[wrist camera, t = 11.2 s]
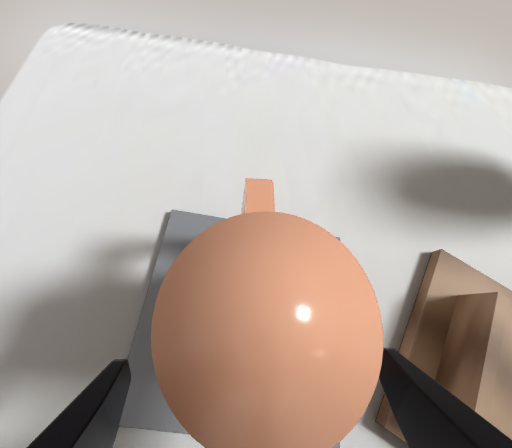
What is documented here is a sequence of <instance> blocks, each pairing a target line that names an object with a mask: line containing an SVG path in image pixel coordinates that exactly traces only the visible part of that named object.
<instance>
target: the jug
mask: <svg viewBox="0 0 512 448" xmlns="http://www.w3.org/2000/svg"><path fill="white" fill-rule="evenodd" d="M151 349H152V359H153V364H154V369H155V374H156V377H157V380H158V383H159V386H160V389H161V392H162V394H163V396H164V398H165V400H166V402H167V404H168V406H169V408H170V410H171V411H172V413H173V414H174V416H175V417H176V419H177V420H178V422H179V423H180V424H181V425H182V427H183V428H184V429H185V430H186V431H187V432H188V433H189V434H190V435H191V436H192V437H193V438H194V439H195V440H196V441H198V442H199V443H200V444H201V445H203V446H204V447H205V448H332V447H333V446H335V445H336V444H337V443H339V442H340V441H341V440H342V439H343V438H344V437H345V436H346V435H347V434H348V433H349V432H350V431H351V430H352V429H353V428H354V426H355V425H356V424H357V422H358V421H359V419H360V418H361V416H362V415H363V414H364V412H365V410H366V408H367V406H368V404H369V402H370V400H371V398H372V396H373V393H374V391H375V388H376V385H377V382H378V379H379V374H380V370H381V365H382V356H383V327H382V320H381V314H380V310H379V306H378V301H377V298H376V296H375V293H374V290H373V288H372V285H371V283H370V281H369V279H368V277H367V275H366V273H365V272H364V270H363V268H362V267H361V265H360V264H359V262H358V261H357V259H356V258H355V257H354V256H353V254H352V253H351V252H350V251H349V250H348V249H347V248H346V247H345V246H344V245H343V244H342V243H341V242H340V241H339V240H338V239H337V238H336V237H334V236H333V235H332V234H331V233H329V232H328V231H326V230H325V229H323V228H322V227H320V226H318V225H316V224H314V223H312V222H310V221H308V220H306V219H303V218H300V217H297V216H294V215H290V214H285V213H280V212H275V209H274V186H273V182H272V180H268V179H248V178H246V180H245V188H244V195H243V203H242V210H241V215H237V216H233V217H230V218H228V219H225V220H223V221H221V222H218V223H217V224H215V225H213V226H211V227H210V228H208V229H206V230H205V231H203V232H202V233H201V234H199V235H198V236H197V237H195V238H194V239H193V240H192V241H191V242H190V243H189V244H188V245H187V246H186V247H185V248H184V249H183V251H182V252H181V253H180V254H179V256H178V257H177V258H176V259H175V261H174V262H173V264H172V266H171V267H170V269H169V270H168V272H167V274H166V276H165V278H164V280H163V283H162V285H161V287H160V290H159V293H158V296H157V299H156V302H155V307H154V312H153V317H152V327H151Z"/></svg>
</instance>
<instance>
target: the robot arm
mask: <svg viewBox="0 0 512 448" xmlns="http://www.w3.org/2000/svg"><path fill="white" fill-rule="evenodd" d="M379 379H380V381H381V384H382V386H383V389H384V392H385V394H386V397H387V399H388V402H389V405H390V407H391V410H392V412H393V415H394V417H395V419H396V421H397V424H398V426H399V428H400V430H401V432H402V434H403V436H404V438H405V440H406V442H407V444H408V446H409V448H512V439H510V438H509V437H508V436H506V435H505V434H504V433H502V432H501V431H500V430H499V429H497V428H496V427H495V426H493V425H492V424H491V423H489V422H488V421H487V420H486V419H484V418H483V417H482V416H480V415H479V414H478V413H477V412H475V411H474V410H473V409H471V408H470V407H469V406H467V405H466V404H465V403H464V402H462V401H461V400H460V399H458V398H457V397H456V396H455V395H453V394H452V393H451V392H449V391H448V390H447V389H445V388H444V387H443V386H442V385H440V384H439V383H438V382H436V381H435V380H434V379H432V378H431V377H430V376H429V375H427V374H426V373H425V372H423V371H422V370H421V369H420V368H418V367H417V366H416V365H414V364H413V363H412V362H410V361H409V360H408V359H407V358H405V357H404V356H403V355H401V354H400V353H399V352H398V351H396V350H395V349H393V348H383V356H382V365H381V370H380V374H379ZM130 383H131V371H130V367H129V362H128V360H127V359H116V360H113V361H112V362H111V363H110V364H109V365H108V366H107V367H106V368H105V369H104V370H103V371H102V372H101V373H100V374H99V375H98V376H97V377H96V378H95V379H94V380H93V381H92V382H91V383H90V384H89V385H88V386H87V387H86V388H85V389H84V390H83V391H82V392H81V393H80V394H79V395H78V396H77V397H76V398H75V399H74V400H73V401H72V402H71V403H70V404H69V405H68V406H67V407H66V408H65V409H64V410H63V411H62V412H61V413H60V414H59V415H58V417H57V418H56V419H55V420H54V421H53V422H52V423H51V424H50V425H49V426H48V427H47V428H46V429H45V430H44V431H43V432H42V433H41V434H40V435H39V436H38V437H37V438H36V439H35V440H34V441H33V442H32V443H31V444H30V445H29V446H28V447H27V448H112V447H113V444H114V441H115V438H116V434H117V431H118V427H119V424H120V420H121V416H122V413H123V409H124V405H125V402H126V398H127V394H128V390H129V387H130Z"/></svg>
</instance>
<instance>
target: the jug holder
mask: <svg viewBox="0 0 512 448" xmlns="http://www.w3.org/2000/svg"><path fill="white" fill-rule="evenodd" d="M399 353H400V354H401V355H403V356H404V357H405V358H407V359H408V360H409V361H410V362H412V363H413V364H414V365H416V366H417V367H418V368H420V369H421V370H422V371H423V372H425V373H426V374H427V375H429V376H430V377H431V378H432V379H434V380H435V381H436V382H438V383H439V384H440V385H442V386H443V387H444V388H445V389H447V390H448V391H449V392H451V393H452V394H453V395H455V396H456V397H457V398H458V399H460V400H461V401H462V402H464V403H465V404H466V405H467V406H469V407H470V408H471V409H473V410H474V411H475V412H477V413H478V414H479V415H480V416H482V417H483V418H484V419H486V420H487V421H488V422H489V423H491V424H492V425H493V426H495V427H496V428H497V429H499V430H500V431H501V432H502V433H504V434H505V435H506V436H508V437H509V438H510V439H512V291H511V290H509V289H508V288H506V287H504V286H503V285H501V284H499V283H498V282H496V281H494V280H493V279H491V278H489V277H487V276H486V275H484V274H482V273H481V272H479V271H477V270H476V269H474V268H472V267H471V266H469V265H467V264H466V263H464V262H462V261H461V260H459V259H457V258H456V257H454V256H452V255H451V254H449V253H447V252H446V251H444V250H442V249H440V250H437V251H434V252H432V254H431V257H430V260H429V263H428V266H427V269H426V272H425V275H424V278H423V281H422V284H421V287H420V290H419V293H418V296H417V299H416V302H415V305H414V308H413V311H412V314H411V317H410V320H409V323H408V326H407V329H406V332H405V335H404V337H403V340H402V343H401V346H400V349H399ZM376 422H377V423H379V424H380V425H381V426H383V427H384V428H386V429H387V430H388V431H390V432H391V433H393V434H394V435H396V436H397V437H398V438H400V439H401V440H403V441H404V442H406V440H405V438H404V436H403V434H402V432H401V430H400V428H399V426H398V424H397V421H396V419H395V417H394V415H393V412H392V410H391V407H390V405H389V402H388V399H387V397H386V394H384V397H383V400H382V403H381V406H380V409H379V412H378V415H377V418H376ZM406 443H407V442H406Z"/></svg>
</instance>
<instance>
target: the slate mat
mask: <svg viewBox="0 0 512 448" xmlns="http://www.w3.org/2000/svg"><path fill="white" fill-rule="evenodd" d="M223 220H225V218H219V217H213V216H207V215H201V214H195V213H189V212H183V211H177V210H171V213H170V217H169V220H168V224H167V227H166V230H165V234H164V237H163V241H162V244H161V247H160V251H159V254H158V258H157V261H156V264H155V268H154V271H153V275H152V278H151V281H150V285H149V288H148V291H147V295H146V298H145V302H144V305H143V308H142V312H141V315H140V319H139V322H138V325H137V329H136V332H135V336H134V339H133V342H132V346H131V349H130V353H129V356H128V359H127V360H128V362H129V367H130V371H131V383H130V387H129V390H128V394H127V398H126V402H125V405H124V409H123V413H122V416H121V420H120V424H119V426H122V427H130V428H139V429H148V430H157V431H165V432H174V433H183V434H189V433H188V432H187V431H186V430H185V429H184V428H183V427H182V425H181V424H180V423H179V422H178V420H177V419H176V417H175V416H174V414H173V413H172V411H171V410H170V408H169V406H168V404H167V402H166V400H165V398H164V396H163V394H162V392H161V389H160V386H159V383H158V380H157V377H156V374H155V369H154V364H153V359H152V349H151V327H152V317H153V312H154V307H155V302H156V299H157V296H158V293H159V290H160V287H161V285H162V283H163V280H164V278H165V276H166V274H167V272H168V270H169V269H170V267H171V266H172V264H173V262H174V261H175V259H176V258H177V257H178V256H179V254H180V253H181V252H182V251H183V249H184V248H185V247H186V246H187V245H188V244H189V243H190V242H191V241H192V240H193V239H194V238H195V237H197V236H198V235H199V234H201V233H202V232H203V231H205V230H206V229H208V228H210V227H211V226H213V225H215V224H217V223H218V222H221V221H223ZM336 238H337V239H338V240H339V241H340V238H339V237H336ZM332 448H340V442H339V443H337V444H336V445H335V446H333V447H332Z"/></svg>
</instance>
